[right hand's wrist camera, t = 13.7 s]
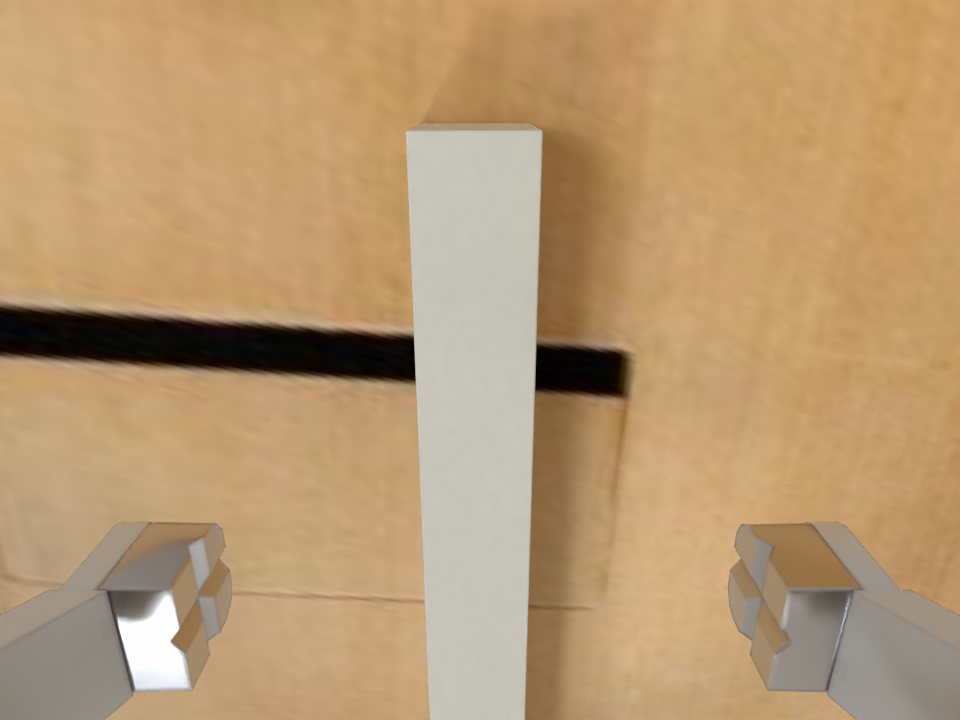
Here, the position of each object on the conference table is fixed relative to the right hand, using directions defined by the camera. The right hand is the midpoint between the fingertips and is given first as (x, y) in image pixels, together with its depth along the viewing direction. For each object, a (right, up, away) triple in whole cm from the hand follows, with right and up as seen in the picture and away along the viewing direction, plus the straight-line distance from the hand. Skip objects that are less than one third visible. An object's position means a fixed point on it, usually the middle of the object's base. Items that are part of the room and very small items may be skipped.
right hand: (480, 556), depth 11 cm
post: (0, -12, +27) cm, 30 cm away
